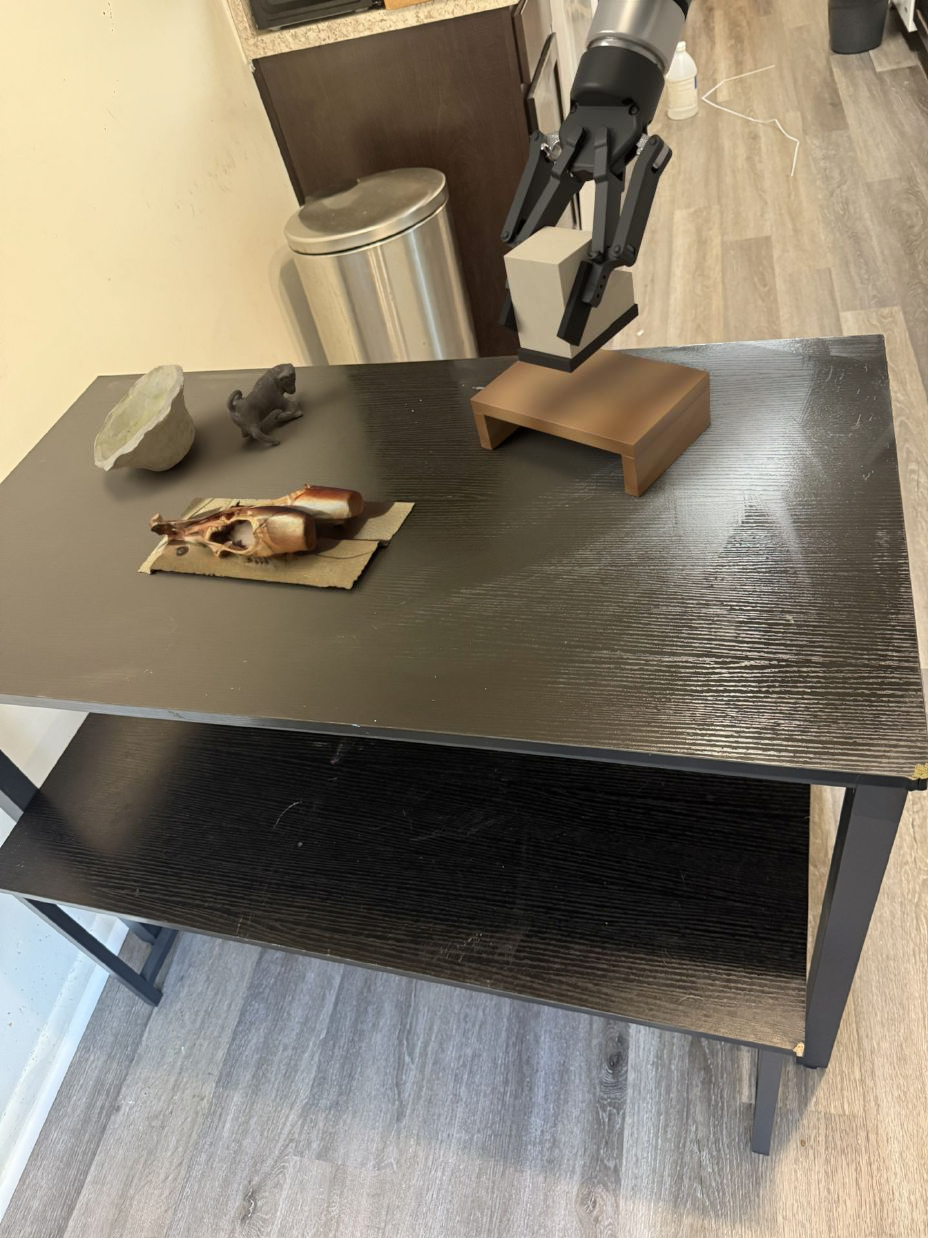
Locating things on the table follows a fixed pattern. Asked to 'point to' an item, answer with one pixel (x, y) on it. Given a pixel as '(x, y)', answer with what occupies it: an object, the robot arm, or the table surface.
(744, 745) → the table surface
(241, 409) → the dog figurine
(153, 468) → the bowl
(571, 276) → the beige block black base
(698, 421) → the shoe shelf
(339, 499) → the ballet pointe shoes
